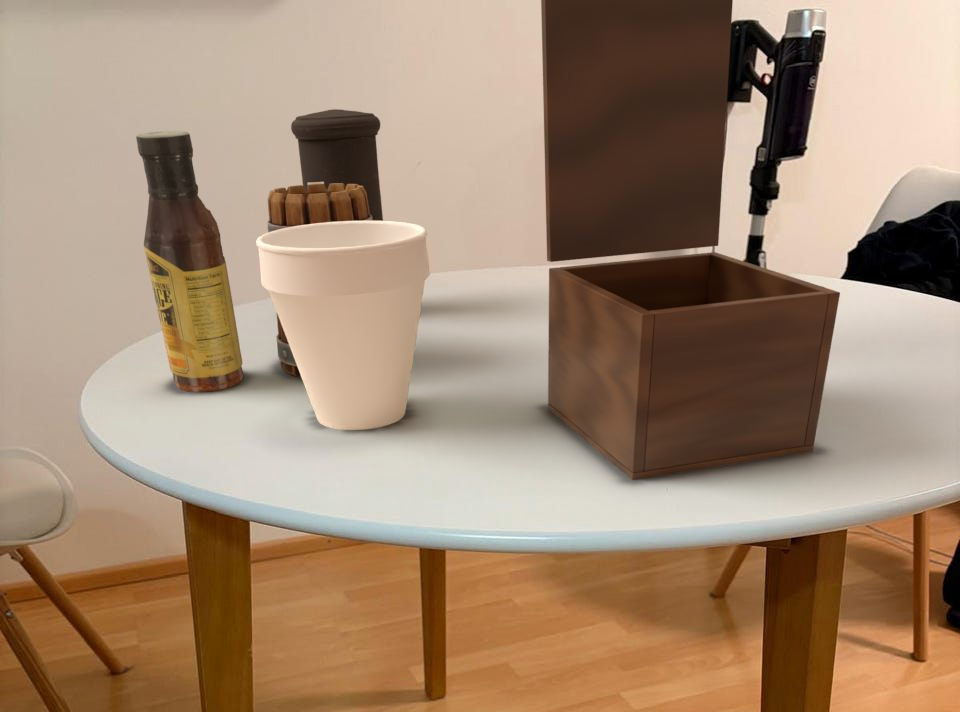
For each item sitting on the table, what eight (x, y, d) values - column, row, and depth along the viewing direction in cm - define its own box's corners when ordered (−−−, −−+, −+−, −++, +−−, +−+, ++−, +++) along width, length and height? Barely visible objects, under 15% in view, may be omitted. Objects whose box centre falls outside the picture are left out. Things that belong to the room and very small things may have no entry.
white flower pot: (263, 412, 74) (233, 232, 67) (399, 385, 79) (384, 214, 72) (316, 459, 65) (288, 256, 58) (466, 425, 70) (458, 234, 63)
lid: (734, -20, 61) (727, -18, 62) (545, -16, 58) (540, -14, 59) (718, 245, 69) (713, 245, 70) (550, 261, 66) (546, 261, 67)
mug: (398, 378, 81) (383, 192, 73) (279, 387, 80) (250, 200, 72) (385, 335, 94) (371, 173, 86) (282, 342, 93) (258, 179, 85)
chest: (812, 455, 63) (840, 292, 57) (632, 484, 60) (642, 314, 54) (701, 391, 75) (715, 251, 70) (547, 412, 72) (548, 268, 66)
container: (316, 308, 105) (291, 109, 95) (394, 304, 106) (378, 105, 95) (313, 327, 98) (286, 113, 87) (396, 322, 99) (379, 109, 88)
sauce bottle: (174, 380, 83) (121, 131, 72) (244, 372, 84) (201, 127, 74) (174, 401, 78) (117, 137, 67) (249, 392, 79) (204, 132, 68)
